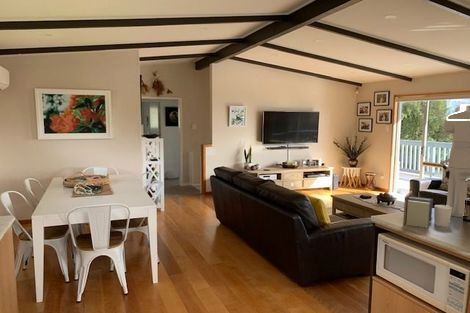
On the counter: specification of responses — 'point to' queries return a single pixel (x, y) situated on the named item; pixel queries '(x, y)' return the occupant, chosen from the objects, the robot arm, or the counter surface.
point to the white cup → (442, 215)
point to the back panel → (406, 206)
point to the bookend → (430, 207)
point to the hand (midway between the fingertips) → (459, 180)
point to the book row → (418, 212)
